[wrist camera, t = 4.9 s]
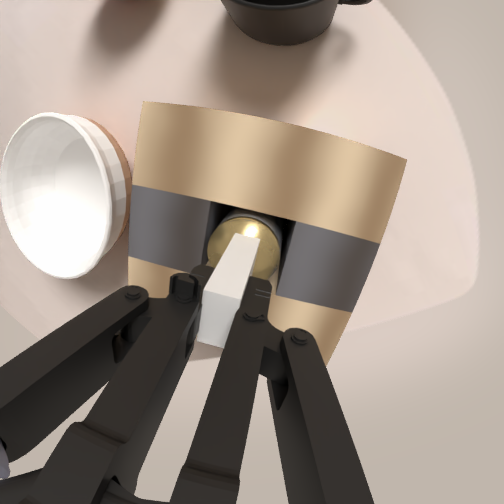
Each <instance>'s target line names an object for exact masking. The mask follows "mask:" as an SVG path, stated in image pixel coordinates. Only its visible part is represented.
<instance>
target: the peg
mask: <svg viewBox="0 0 504 504" xmlns="http://www.w3.org/2000/svg"><path fill="white" fill-rule="evenodd" d="M284 219H285V218H282V217H278V216H274V215H270V214H265V213H261V212H257V211H253V210H249V209H244V208H240V207H236V206H233V207H232V209H231V210H230V211H229V212H228V214H227V215H226V216H225V218H224V219H223V220H222V222H221V223H220V224H219V225H218V227H217V228H216V229H215V231H214V232H213V233H212V235H211V237H210V239H209V242H208V247H207V254H208V259H209V262H210V264H211V266H212V267H214V268H216V266H217V264H218V263H219V261H220V259H221V257H222V256H223V254H224V252H225V250H226V248H227V247H228V245H229V243H230V241H231V240H232V238H233V236H234V234H235V233H238V234H242V235H246V236H251V237H255V238H259V239H260V243H259V247H258V251H257V256H256V260H255V264H254V268H253V273H252V276H253V277H257V278H261V279H265V280H268V279H269V278H270V277H271V276H272V275H273V274H274V272H275V271H276V269H277V267H278V264H279V260H280V252H281V244H282V236H283V227H284Z"/></svg>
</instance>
